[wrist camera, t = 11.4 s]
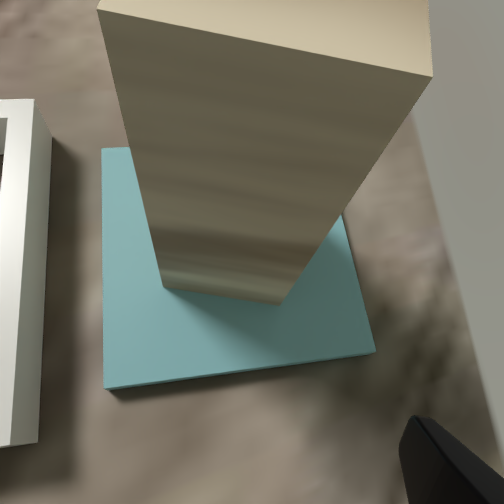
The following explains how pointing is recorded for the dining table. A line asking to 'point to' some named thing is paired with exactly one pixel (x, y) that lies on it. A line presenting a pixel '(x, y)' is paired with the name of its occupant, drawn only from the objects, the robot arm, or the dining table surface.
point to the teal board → (213, 305)
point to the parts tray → (22, 266)
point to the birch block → (257, 125)
